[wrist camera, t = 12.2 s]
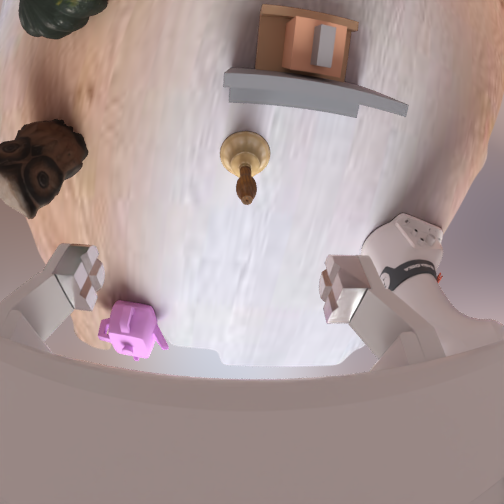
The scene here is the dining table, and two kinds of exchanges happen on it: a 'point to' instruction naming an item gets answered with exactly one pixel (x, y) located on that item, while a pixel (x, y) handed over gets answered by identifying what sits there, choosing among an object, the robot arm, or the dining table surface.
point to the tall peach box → (314, 46)
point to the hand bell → (245, 161)
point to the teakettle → (132, 329)
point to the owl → (39, 164)
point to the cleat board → (300, 73)
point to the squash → (57, 16)
